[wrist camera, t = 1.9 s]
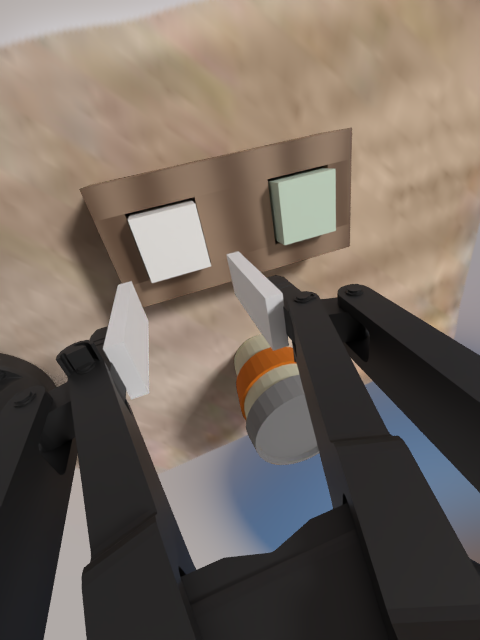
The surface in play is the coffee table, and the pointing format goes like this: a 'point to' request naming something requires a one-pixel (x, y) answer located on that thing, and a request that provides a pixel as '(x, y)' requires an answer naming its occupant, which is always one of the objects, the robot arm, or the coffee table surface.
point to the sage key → (303, 204)
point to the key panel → (222, 210)
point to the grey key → (170, 239)
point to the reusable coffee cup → (274, 403)
